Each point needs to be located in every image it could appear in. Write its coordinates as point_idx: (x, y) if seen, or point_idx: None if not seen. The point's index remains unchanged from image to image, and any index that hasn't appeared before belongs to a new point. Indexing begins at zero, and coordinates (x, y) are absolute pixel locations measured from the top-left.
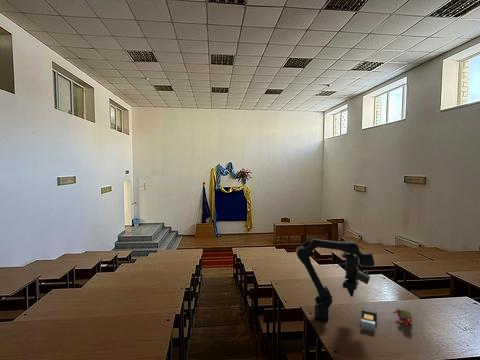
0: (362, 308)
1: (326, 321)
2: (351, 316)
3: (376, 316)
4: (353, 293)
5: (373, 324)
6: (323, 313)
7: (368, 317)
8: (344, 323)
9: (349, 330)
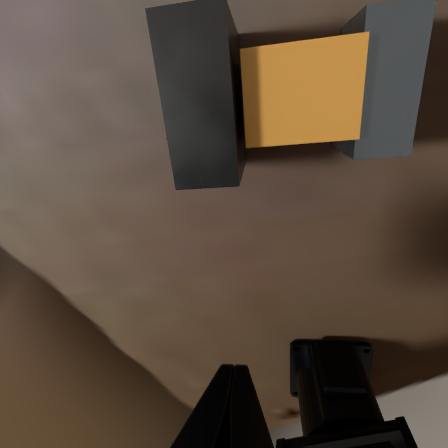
0: (192, 181)
1: (370, 347)
2: (203, 232)
3: (230, 13)
4: (254, 421)
5: (430, 16)
6: (375, 402)
7: (328, 92)
8: (327, 256)
9: (417, 214)
